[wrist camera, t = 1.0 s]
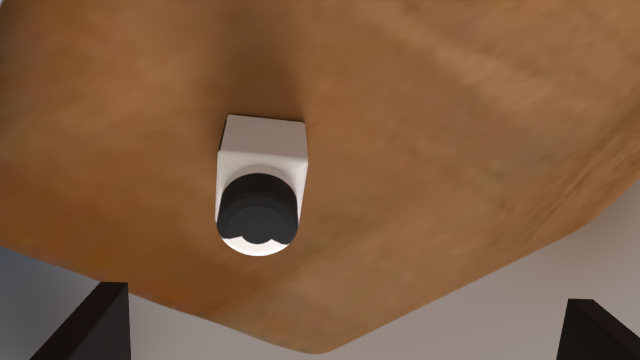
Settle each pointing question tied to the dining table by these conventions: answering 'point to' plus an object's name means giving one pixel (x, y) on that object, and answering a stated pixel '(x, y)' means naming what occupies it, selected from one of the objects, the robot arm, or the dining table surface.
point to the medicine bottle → (260, 183)
